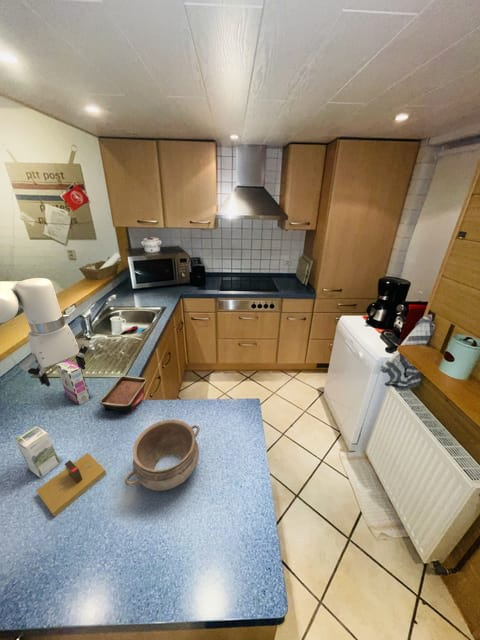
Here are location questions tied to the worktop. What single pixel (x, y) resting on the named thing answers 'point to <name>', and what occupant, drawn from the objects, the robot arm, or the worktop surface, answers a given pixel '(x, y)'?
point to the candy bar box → (73, 381)
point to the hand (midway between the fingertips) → (65, 375)
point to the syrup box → (37, 451)
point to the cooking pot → (164, 454)
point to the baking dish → (124, 394)
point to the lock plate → (70, 485)
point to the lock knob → (73, 471)
